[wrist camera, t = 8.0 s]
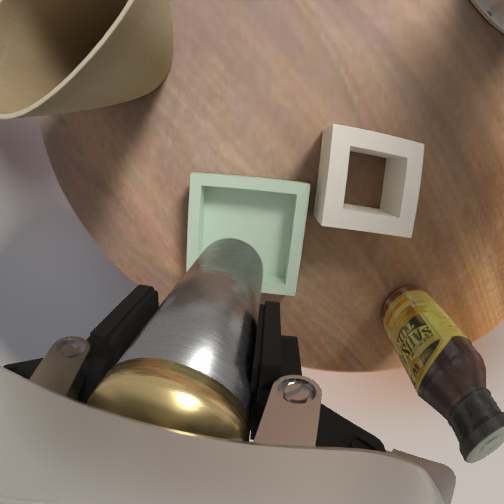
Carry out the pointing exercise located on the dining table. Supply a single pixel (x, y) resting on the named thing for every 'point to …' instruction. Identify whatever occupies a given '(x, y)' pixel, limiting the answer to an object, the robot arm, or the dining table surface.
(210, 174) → the tray
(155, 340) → the pin
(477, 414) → the sauce bottle
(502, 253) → the dining table surface
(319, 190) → the socket block
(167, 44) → the plant pot
